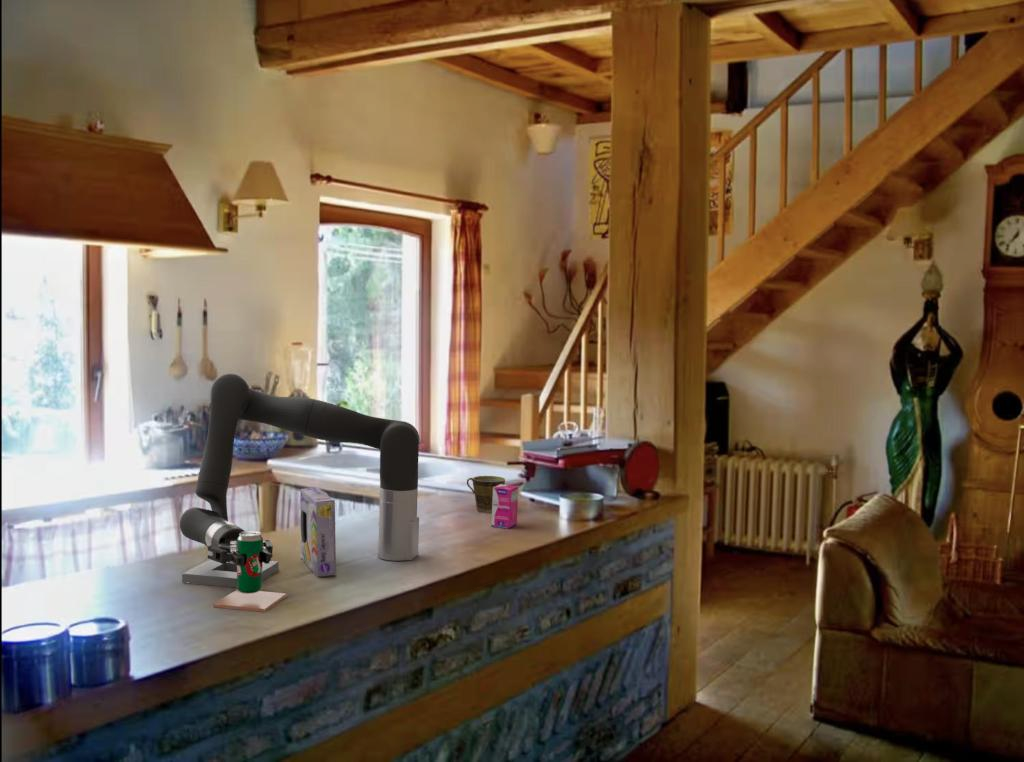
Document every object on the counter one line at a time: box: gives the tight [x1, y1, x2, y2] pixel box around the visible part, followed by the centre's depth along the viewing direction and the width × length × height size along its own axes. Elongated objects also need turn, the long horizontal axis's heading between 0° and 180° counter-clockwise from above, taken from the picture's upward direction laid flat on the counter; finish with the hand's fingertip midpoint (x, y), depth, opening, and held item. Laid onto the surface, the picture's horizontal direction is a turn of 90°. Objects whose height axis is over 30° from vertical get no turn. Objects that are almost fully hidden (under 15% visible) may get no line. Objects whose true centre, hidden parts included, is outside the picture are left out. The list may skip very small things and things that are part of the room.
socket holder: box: [181, 559, 280, 589], centre depth 222 cm, size 16×16×2 cm
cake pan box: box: [299, 486, 337, 578], centre depth 232 cm, size 19×5×18 cm, turn 23°
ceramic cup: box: [466, 475, 506, 514], centre depth 302 cm, size 13×10×10 cm
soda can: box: [236, 530, 264, 593], centre depth 204 cm, size 5×5×12 cm
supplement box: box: [491, 484, 519, 530], centre depth 282 cm, size 6×6×12 cm
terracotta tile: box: [212, 588, 288, 613], centre depth 204 cm, size 11×11×1 cm
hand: (255, 560), depth 202 cm, fingers closed on soda can, 4 cm apart
